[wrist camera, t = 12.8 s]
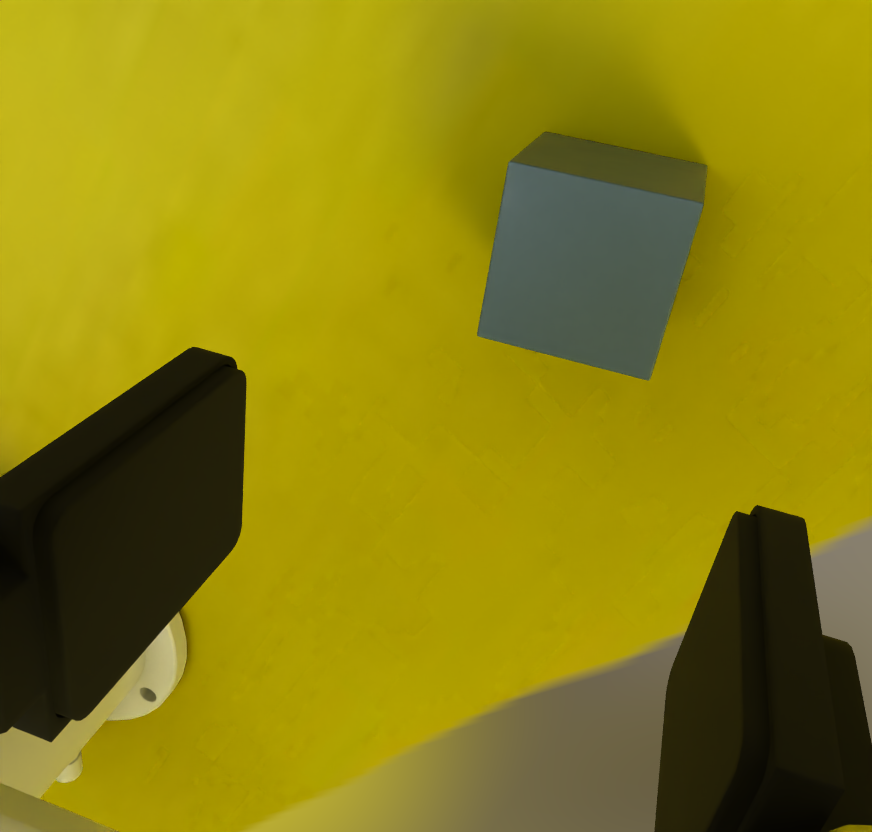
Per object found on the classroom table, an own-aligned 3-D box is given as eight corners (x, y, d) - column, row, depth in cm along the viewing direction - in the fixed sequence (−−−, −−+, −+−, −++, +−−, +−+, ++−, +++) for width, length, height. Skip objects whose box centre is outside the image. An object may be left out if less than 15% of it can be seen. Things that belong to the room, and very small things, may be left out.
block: (661, 319, 25) (649, 381, 21) (513, 282, 26) (475, 336, 22) (708, 165, 23) (704, 202, 19) (544, 130, 24) (508, 160, 20)
